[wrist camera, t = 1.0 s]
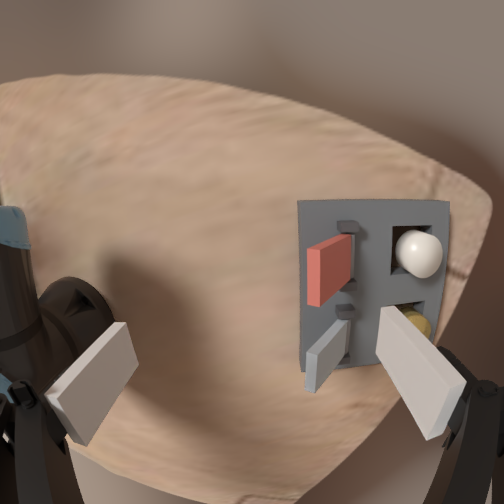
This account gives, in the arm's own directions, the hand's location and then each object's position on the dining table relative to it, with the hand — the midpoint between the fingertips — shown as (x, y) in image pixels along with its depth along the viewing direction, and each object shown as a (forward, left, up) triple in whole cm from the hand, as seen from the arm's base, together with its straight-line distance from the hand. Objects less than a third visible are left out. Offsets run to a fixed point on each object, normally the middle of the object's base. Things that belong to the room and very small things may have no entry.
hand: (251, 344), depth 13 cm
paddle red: (+9, 0, -17) cm, 20 cm away
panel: (+14, -5, -21) cm, 26 cm away
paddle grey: (+9, -10, -17) cm, 22 cm away
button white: (+18, 0, -18) cm, 26 cm away
